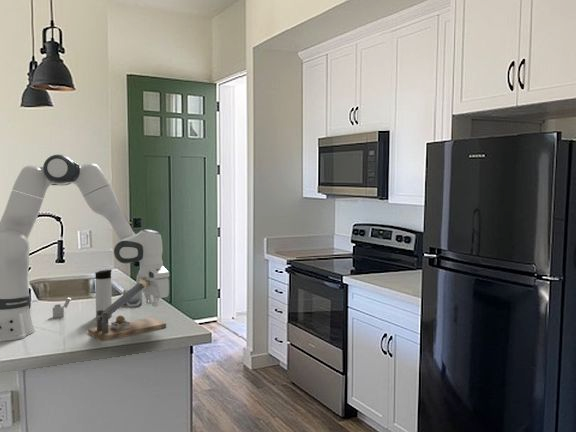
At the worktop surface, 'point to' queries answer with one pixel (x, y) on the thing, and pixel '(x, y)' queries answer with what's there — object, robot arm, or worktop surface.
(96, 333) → the nutcracker base
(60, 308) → the lighter
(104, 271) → the travel mug
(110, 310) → the lever
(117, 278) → the worktop surface
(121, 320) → the walnut
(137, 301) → the ceramic mug
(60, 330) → the worktop surface
